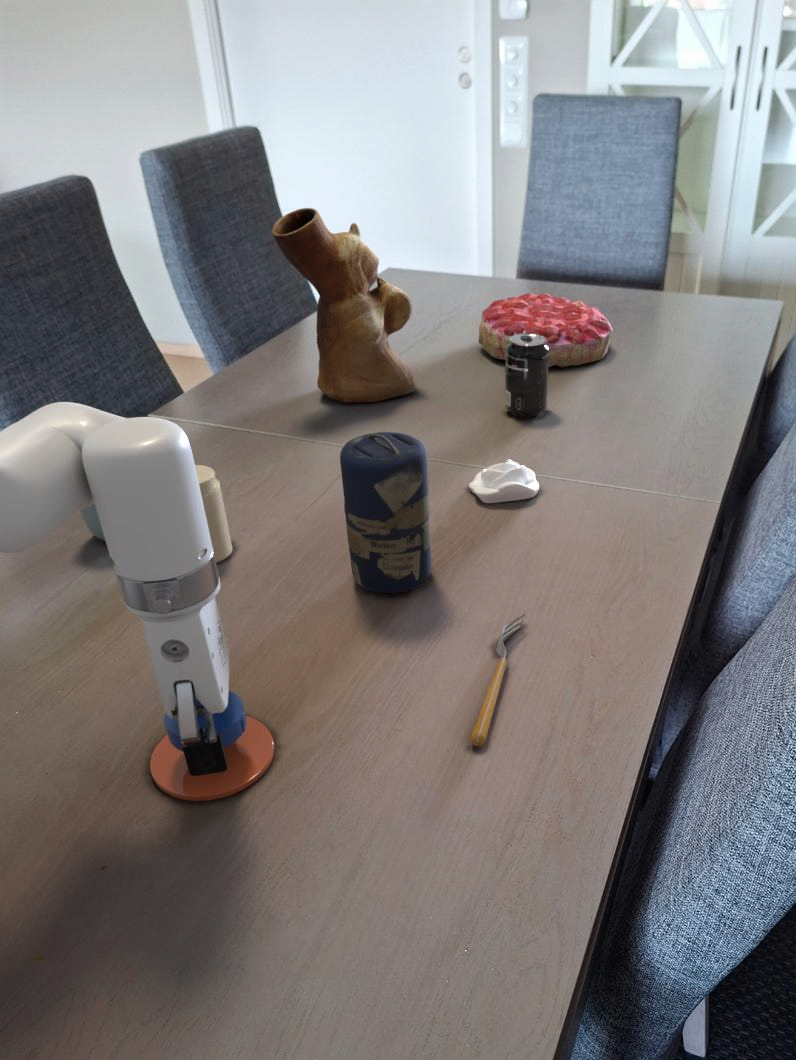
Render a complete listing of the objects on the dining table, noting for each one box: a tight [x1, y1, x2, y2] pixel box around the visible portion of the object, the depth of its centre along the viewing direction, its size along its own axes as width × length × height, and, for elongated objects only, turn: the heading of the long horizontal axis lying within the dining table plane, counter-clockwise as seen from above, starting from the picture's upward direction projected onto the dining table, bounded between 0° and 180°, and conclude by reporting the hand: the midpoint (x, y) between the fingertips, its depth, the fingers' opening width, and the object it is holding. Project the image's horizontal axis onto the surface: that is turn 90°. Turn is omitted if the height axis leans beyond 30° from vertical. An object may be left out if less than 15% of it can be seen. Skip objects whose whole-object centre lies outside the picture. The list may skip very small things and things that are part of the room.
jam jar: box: [195, 464, 233, 564], centre depth 109 cm, size 6×6×11 cm
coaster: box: [149, 715, 275, 802], centre depth 82 cm, size 11×11×1 cm
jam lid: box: [163, 690, 247, 751], centre depth 80 cm, size 7×7×2 cm
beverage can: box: [504, 333, 549, 418], centre depth 145 cm, size 7×7×12 cm
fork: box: [470, 613, 526, 747], centre depth 91 cm, size 2×2×20 cm
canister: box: [339, 431, 432, 594], centre depth 102 cm, size 10×10×18 cm
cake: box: [478, 292, 614, 368], centre depth 171 cm, size 25×25×8 cm
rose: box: [468, 458, 540, 504], centre depth 124 cm, size 10×4×10 cm
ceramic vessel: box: [271, 207, 416, 403], centre depth 146 cm, size 16×22×30 cm
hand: (210, 741), depth 82 cm, fingers closed on jam lid, 6 cm apart
